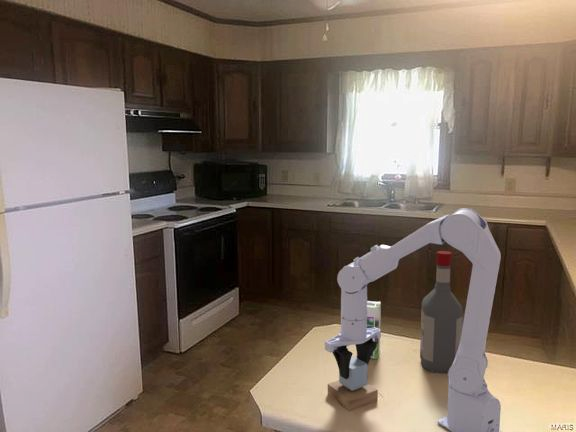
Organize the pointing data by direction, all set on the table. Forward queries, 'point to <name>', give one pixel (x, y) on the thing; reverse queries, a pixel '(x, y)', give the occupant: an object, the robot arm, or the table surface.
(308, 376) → the table surface
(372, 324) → the syrup box
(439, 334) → the liquor
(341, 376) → the robot arm
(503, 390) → the table surface
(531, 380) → the table surface
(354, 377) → the blue block
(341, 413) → the table surface
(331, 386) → the walnut block
